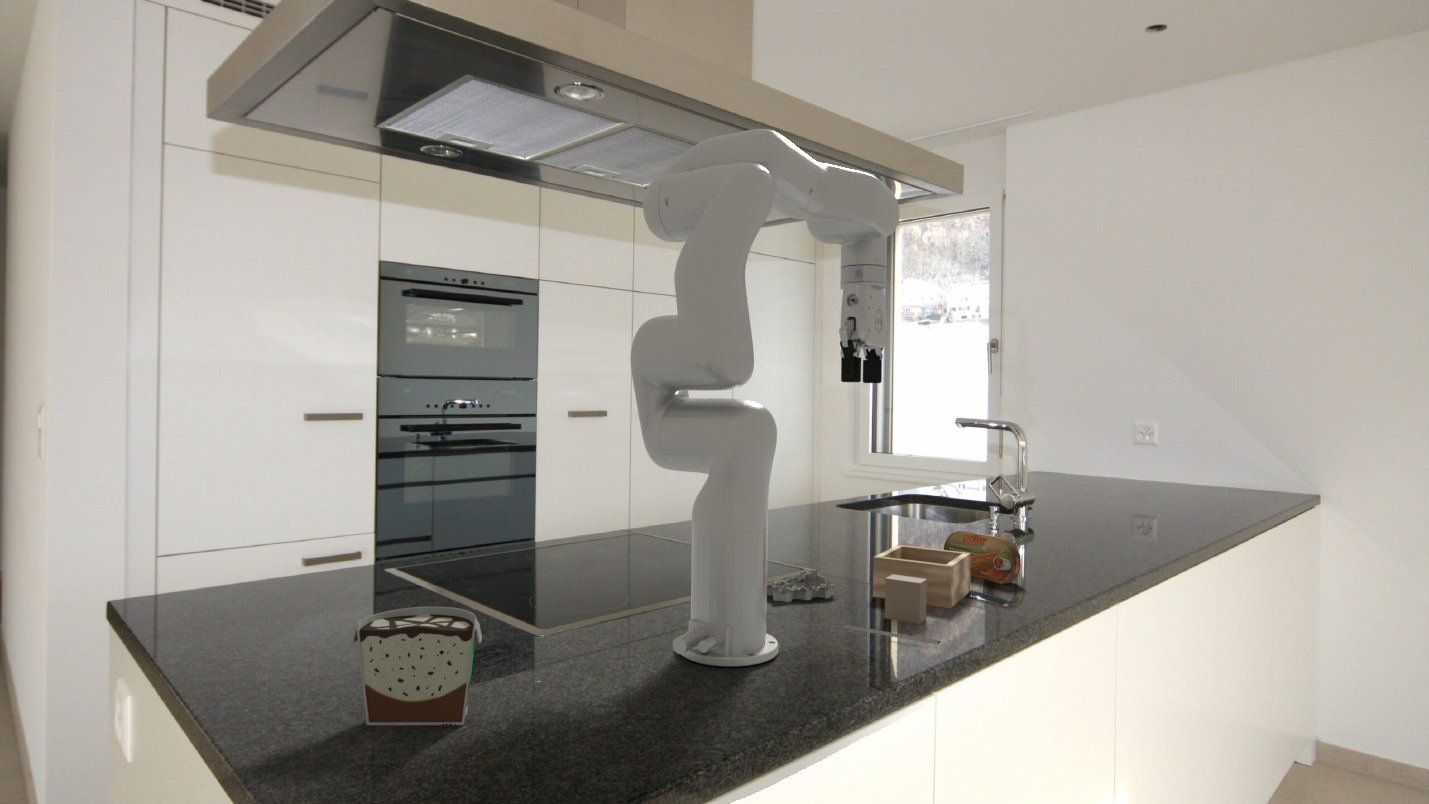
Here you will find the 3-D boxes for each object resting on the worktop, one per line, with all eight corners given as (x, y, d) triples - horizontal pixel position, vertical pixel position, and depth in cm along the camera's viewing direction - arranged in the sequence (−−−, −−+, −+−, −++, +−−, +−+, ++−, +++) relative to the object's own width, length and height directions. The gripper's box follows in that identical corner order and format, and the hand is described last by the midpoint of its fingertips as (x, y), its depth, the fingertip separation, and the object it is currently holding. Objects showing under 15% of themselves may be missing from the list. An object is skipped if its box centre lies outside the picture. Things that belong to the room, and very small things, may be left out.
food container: (494, 700, 84) (495, 605, 84) (479, 725, 78) (480, 622, 78) (375, 700, 84) (376, 604, 83) (350, 725, 77) (351, 622, 77)
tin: (941, 573, 146) (942, 527, 146) (953, 571, 147) (954, 526, 147) (1010, 591, 133) (1011, 541, 133) (1023, 589, 135) (1024, 539, 134)
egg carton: (819, 593, 131) (819, 568, 131) (840, 605, 124) (840, 579, 124) (758, 597, 128) (758, 572, 128) (776, 610, 121) (776, 583, 121)
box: (950, 613, 119) (951, 566, 119) (872, 601, 125) (873, 557, 125) (970, 596, 129) (970, 553, 129) (897, 586, 136) (898, 544, 135)
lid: (937, 648, 104) (938, 594, 104) (844, 631, 111) (845, 581, 111) (964, 624, 115) (964, 576, 115) (877, 610, 122) (878, 564, 122)
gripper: (866, 271, 124) (864, 382, 124) (901, 284, 139) (900, 383, 139) (821, 274, 128) (819, 381, 128) (860, 286, 142) (859, 383, 143)
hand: (861, 382), depth 133 cm, fingers open, 9 cm apart
